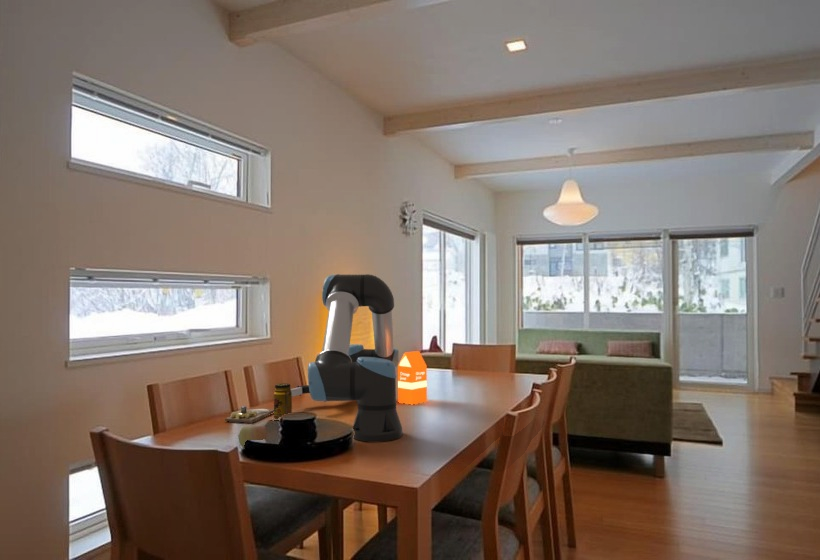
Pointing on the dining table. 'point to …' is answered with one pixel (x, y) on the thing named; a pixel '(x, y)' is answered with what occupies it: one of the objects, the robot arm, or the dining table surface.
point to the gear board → (260, 414)
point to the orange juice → (412, 379)
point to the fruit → (252, 433)
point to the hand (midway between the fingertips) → (303, 394)
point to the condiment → (282, 400)
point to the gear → (244, 413)
